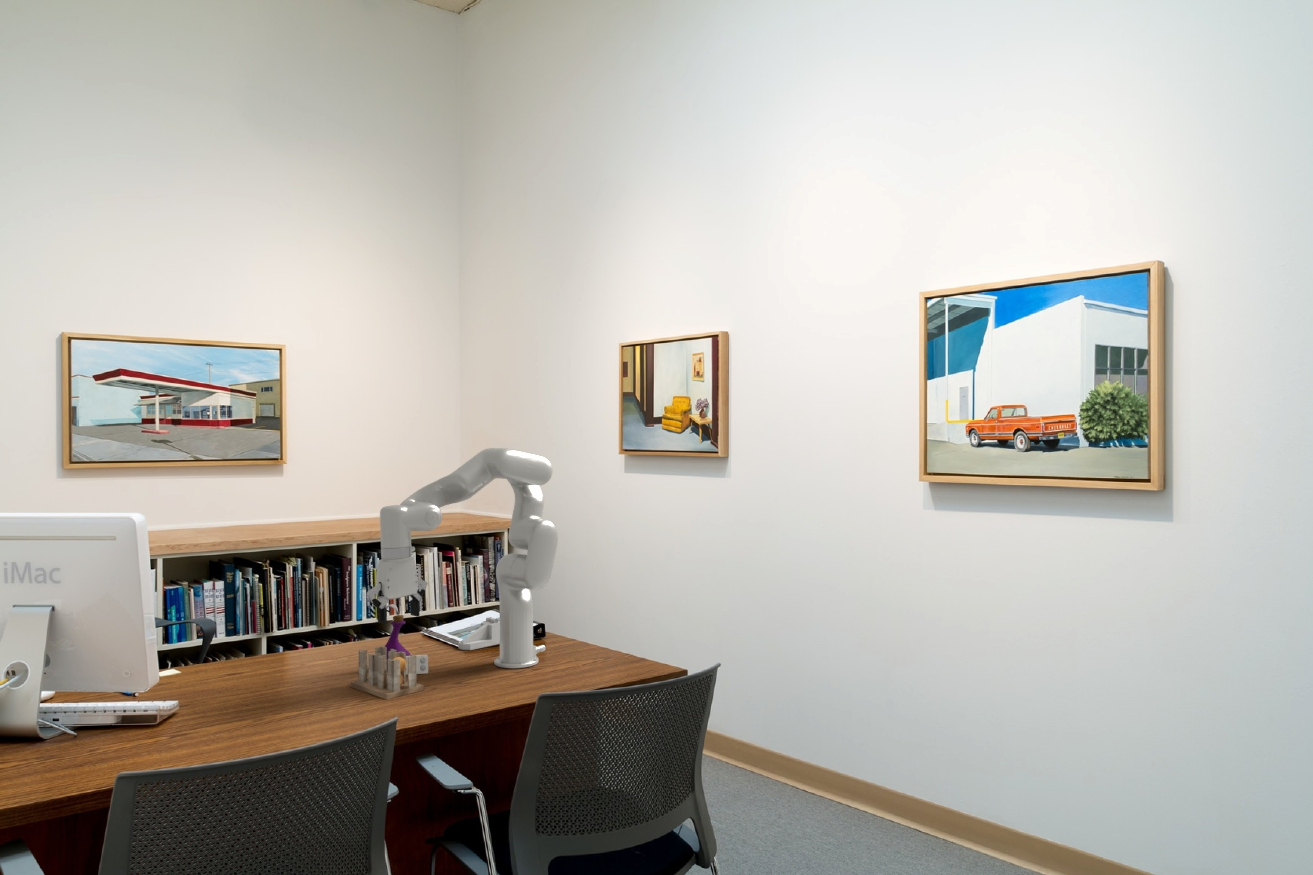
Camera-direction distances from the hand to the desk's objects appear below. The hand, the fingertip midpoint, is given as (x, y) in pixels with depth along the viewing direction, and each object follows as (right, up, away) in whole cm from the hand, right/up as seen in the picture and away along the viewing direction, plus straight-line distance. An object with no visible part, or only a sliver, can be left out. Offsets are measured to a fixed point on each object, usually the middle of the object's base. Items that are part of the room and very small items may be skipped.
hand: (399, 619), depth 233 cm
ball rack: (-4, -19, +3) cm, 19 cm away
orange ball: (-1, -12, -1) cm, 12 cm away
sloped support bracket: (+13, -19, +51) cm, 56 cm away
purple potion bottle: (-8, -19, +23) cm, 31 cm away
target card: (-1, -19, +17) cm, 25 cm away
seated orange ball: (0, -17, 0) cm, 17 cm away
